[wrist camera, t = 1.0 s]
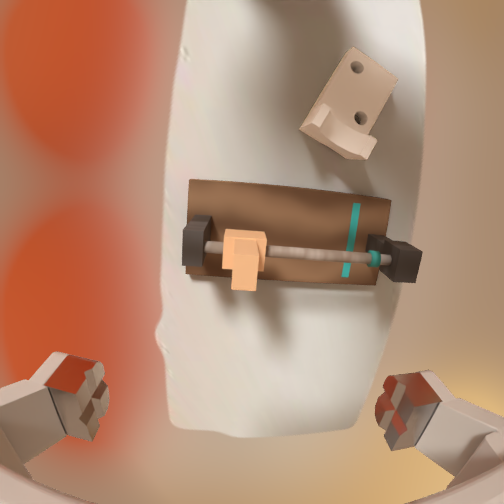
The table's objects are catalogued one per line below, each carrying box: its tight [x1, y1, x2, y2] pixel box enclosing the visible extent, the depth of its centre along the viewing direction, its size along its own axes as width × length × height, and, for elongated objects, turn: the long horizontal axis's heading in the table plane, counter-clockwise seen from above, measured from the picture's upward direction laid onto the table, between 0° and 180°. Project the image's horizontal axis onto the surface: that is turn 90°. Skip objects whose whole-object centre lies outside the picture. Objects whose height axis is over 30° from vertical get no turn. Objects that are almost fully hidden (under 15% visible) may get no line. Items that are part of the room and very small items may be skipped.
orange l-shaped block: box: [222, 229, 267, 291], centre depth 29 cm, size 3×4×8 cm
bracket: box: [299, 47, 398, 160], centre depth 32 cm, size 13×7×8 cm, turn 150°
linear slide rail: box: [182, 179, 422, 285], centre depth 35 cm, size 12×26×11 cm, turn 85°
